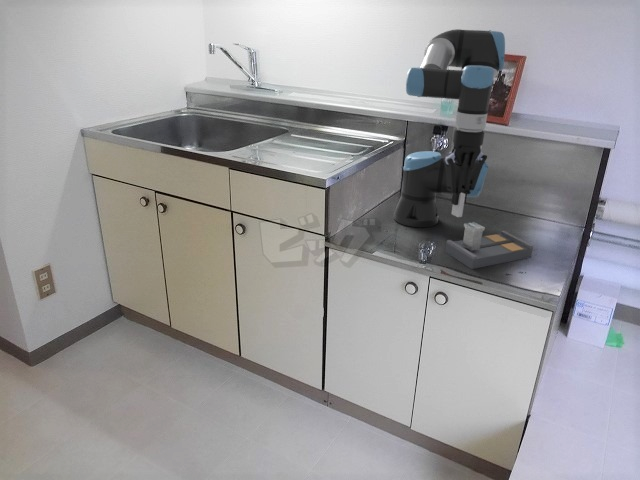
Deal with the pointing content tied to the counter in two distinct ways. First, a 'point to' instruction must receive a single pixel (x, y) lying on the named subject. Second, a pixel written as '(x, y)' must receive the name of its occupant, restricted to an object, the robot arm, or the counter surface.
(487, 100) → the robot arm
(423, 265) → the counter surface
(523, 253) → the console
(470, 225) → the fader knob
